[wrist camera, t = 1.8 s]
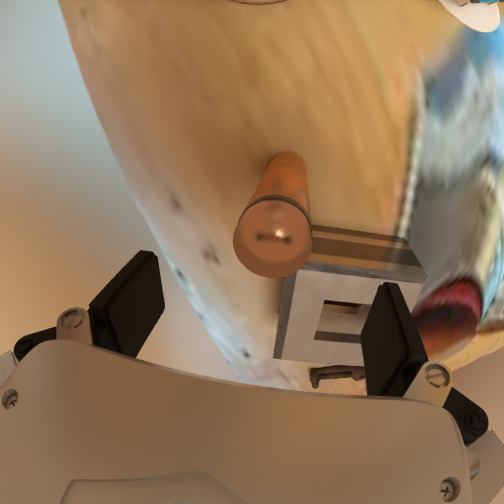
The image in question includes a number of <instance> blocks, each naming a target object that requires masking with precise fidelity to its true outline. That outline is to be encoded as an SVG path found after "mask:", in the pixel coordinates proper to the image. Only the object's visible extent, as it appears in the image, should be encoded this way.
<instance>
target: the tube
mask: <svg viewBox="0 0 504 504" xmlns="http://www.w3.org/2000/svg"><path fill="white" fill-rule="evenodd" d="M233 246H234V250H235V253H236V255H237V257H238V259H239V260H240V262H241V263H242V264H243V265H244V266H245V267H246V268H247V269H248V270H250V271H251V272H253V273H255V274H257V275H260V276H263V277H268V278H281V277H286V276H289V275H292V274H294V273H295V272H297V271H298V270H300V269H301V268H302V267H303V266H304V265H305V264H306V262H307V261H308V259H309V257H310V254H311V250H312V224H311V220H310V207H309V194H308V182H307V171H306V165H305V163H304V161H303V159H302V158H301V157H300V156H298V155H297V154H295V153H292V152H282V153H279V154H277V155H276V156H275V157H274V158H273V159H272V160H271V162H270V164H269V166H268V167H267V169H266V171H265V173H264V175H263V177H262V179H261V181H260V183H259V184H258V186H257V188H256V190H255V192H254V194H253V196H252V198H251V200H250V202H249V204H248V205H247V207H246V208H245V210H244V211H243V213H242V215H241V217H240V219H239V222H238V225H237V227H236V229H235V232H234V236H233Z"/></svg>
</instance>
